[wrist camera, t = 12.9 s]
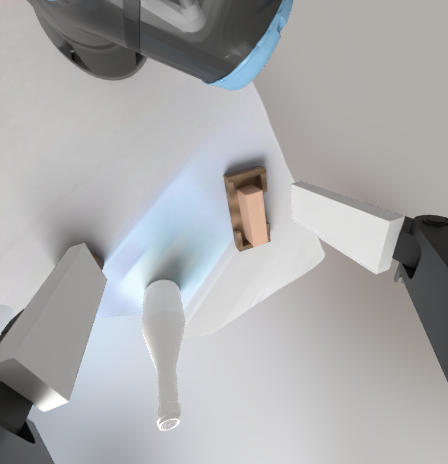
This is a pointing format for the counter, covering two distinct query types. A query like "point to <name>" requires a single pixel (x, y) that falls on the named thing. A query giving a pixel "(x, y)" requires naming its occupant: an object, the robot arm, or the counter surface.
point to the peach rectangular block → (253, 214)
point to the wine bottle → (164, 345)
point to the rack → (232, 183)
